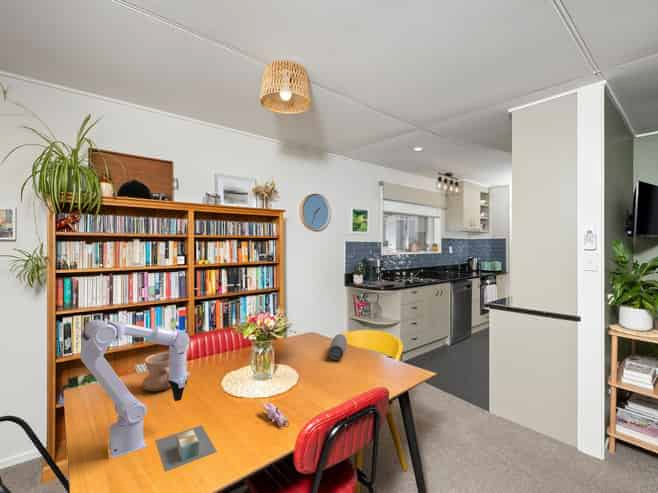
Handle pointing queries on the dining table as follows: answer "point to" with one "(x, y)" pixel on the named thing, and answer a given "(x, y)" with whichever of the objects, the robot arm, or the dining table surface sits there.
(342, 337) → the bluetooth speaker
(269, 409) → the rabbit figure
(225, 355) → the dining table surface
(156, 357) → the ceramic jug
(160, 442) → the rubber mat
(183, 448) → the maple block
